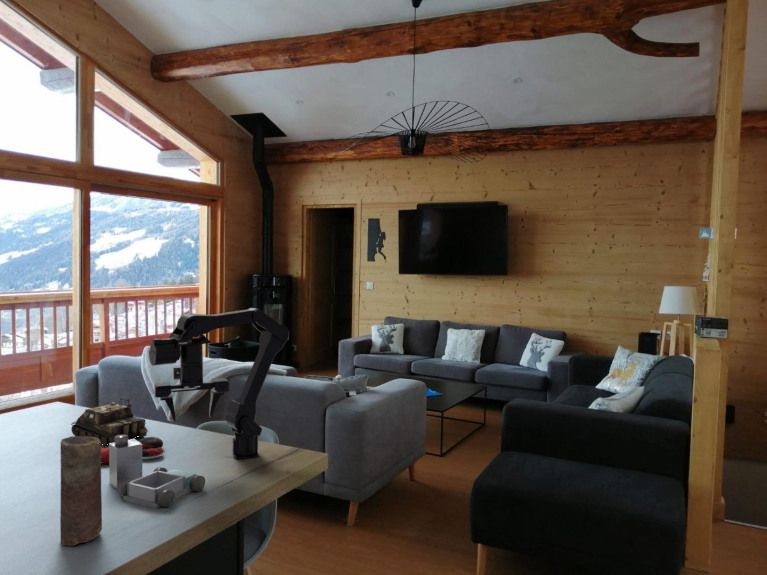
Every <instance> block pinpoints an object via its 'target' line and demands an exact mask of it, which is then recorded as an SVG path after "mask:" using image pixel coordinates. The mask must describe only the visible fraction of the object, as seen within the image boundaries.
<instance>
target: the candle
mask: <svg viewBox="0 0 767 575" xmlns="http://www.w3.org/2000/svg"><path fill="white" fill-rule="evenodd" d="M101 449H102V446H101V441H100V440H99V439H98V438H96V437H80V436H75V435H73V436H69V437H65V438H61V440H60V511H59V512H60V521H59V522H60V524H59V525H60V531H59V532H60V544H61V545H63V546H71V547H72V546H75V545H78V544H82V543H89V542H90V541H92V540H94V539H96V537H98V536H99V535H100V533H101V531H102V529H103V519H102V518H103V517H102V515H103V512H102V511H103V509H102V508H103V505H102V501H103V500H102V463H101Z"/></svg>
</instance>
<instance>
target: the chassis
mask: <svg viewBox="0 0 767 575" xmlns="http://www.w3.org/2000/svg"><path fill="white" fill-rule="evenodd" d="M205 484H206V478H205V476H203V475H199V474H197V473H194V472H189V471H184V470H180V469H175V468H174V469H171V470H168V469H167V468H165V467H162V466H158V467H156V468H154V470H153V471H152V472H151V473H148V474H145V475H142V477H141V478H138V479H136V480H133V481H128V480H126V481H124V482H122V483H121V485H120V487H119V490H118V495H119V496H121V497H122V498H123V501H124V500H125V502H129V503H133V504H137V505H141V506H145V507H149V508H153V509H158V508H160V507H164V508H169V507H171V506H172V505H173V504H174V502H175V500H176V498H177V499H178V498H180V497H182V495H183V496H185V495H187V494H189V493H190V492H191V493H192V492H193V491H194V492H199V493H200V492H202V490H203V489H204V488H205Z"/></svg>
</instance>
